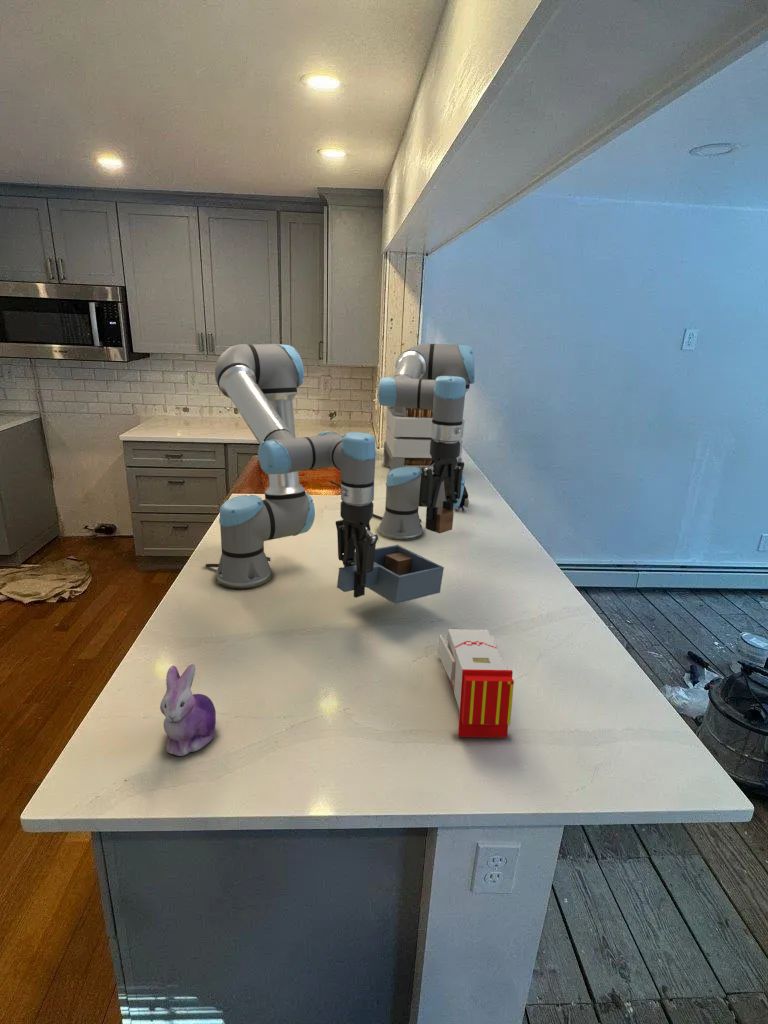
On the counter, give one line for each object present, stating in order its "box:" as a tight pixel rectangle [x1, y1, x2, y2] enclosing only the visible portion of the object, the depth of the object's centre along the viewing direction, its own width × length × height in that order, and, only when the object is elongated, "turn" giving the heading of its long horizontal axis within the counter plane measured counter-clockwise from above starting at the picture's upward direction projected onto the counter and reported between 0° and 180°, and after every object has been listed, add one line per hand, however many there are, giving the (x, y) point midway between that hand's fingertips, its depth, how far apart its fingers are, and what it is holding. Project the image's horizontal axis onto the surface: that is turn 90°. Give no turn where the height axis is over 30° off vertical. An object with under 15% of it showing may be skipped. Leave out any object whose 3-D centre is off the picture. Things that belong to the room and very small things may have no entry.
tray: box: [336, 544, 445, 605], centre depth 142 cm, size 18×26×7 cm
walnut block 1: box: [384, 552, 412, 576], centre depth 151 cm, size 5×5×5 cm
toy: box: [437, 628, 515, 738], centre depth 117 cm, size 12×13×30 cm
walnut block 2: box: [425, 507, 455, 534], centre depth 148 cm, size 5×5×5 cm
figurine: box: [159, 663, 217, 757], centre depth 100 cm, size 9×10×15 cm
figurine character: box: [454, 485, 470, 512], centre depth 229 cm, size 7×8×15 cm
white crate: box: [383, 406, 465, 472], centre depth 268 cm, size 34×33×41 cm
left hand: (354, 592), depth 138 cm, fingers closed on tray, 3 cm apart
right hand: (438, 527), depth 148 cm, fingers closed on walnut block 2, 5 cm apart
